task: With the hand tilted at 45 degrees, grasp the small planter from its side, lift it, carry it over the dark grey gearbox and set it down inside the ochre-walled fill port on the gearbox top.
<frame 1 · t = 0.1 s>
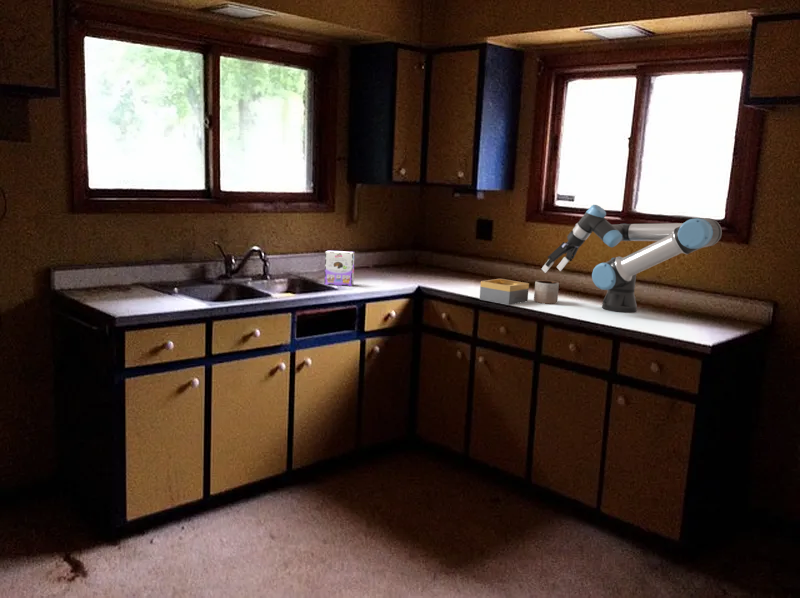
hand: (551, 270, 344), 15 cm above the counter, tool tilted 35°, fingers open, 13 cm apart
candy box: (338, 285, 366), on the counter
gearbox: (503, 300, 346), on the counter
planter: (545, 302, 347), on the counter
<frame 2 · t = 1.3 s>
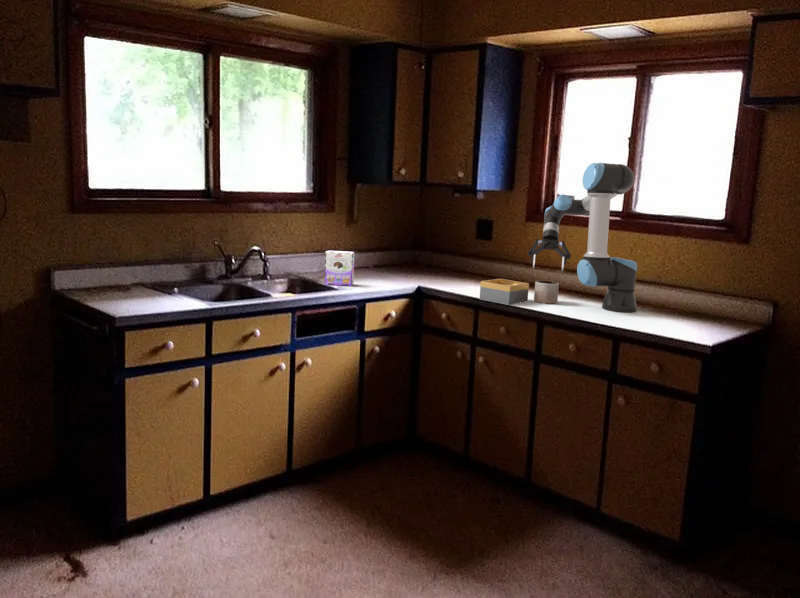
hand: (548, 267, 355), 15 cm above the counter, tool tilted 45°, fingers open, 13 cm apart
nothing on the counter moved.
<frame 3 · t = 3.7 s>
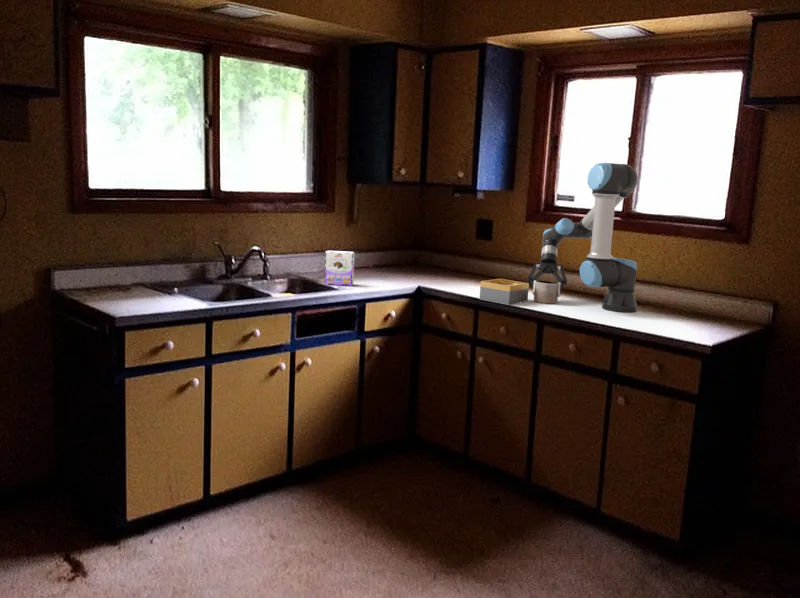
hand: (546, 294, 344), 4 cm above the counter, tool tilted 45°, fingers closed on planter, 11 cm apart
planter: (545, 302, 347), on the counter, touching gripper
everything else where it was.
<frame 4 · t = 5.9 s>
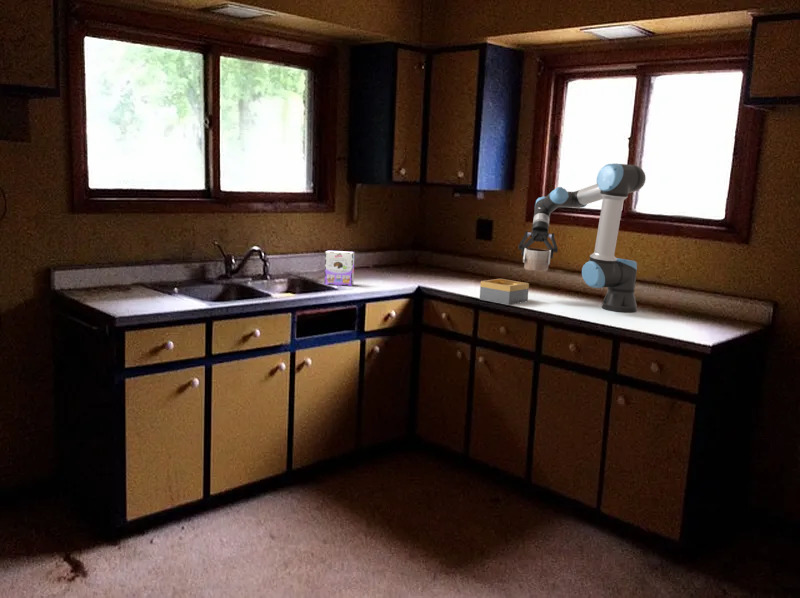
hand: (536, 261, 343), 19 cm above the counter, tool tilted 45°, fingers closed on planter, 11 cm apart
planter: (535, 270, 346), point 14 cm above the counter, touching gripper
everything else where it was.
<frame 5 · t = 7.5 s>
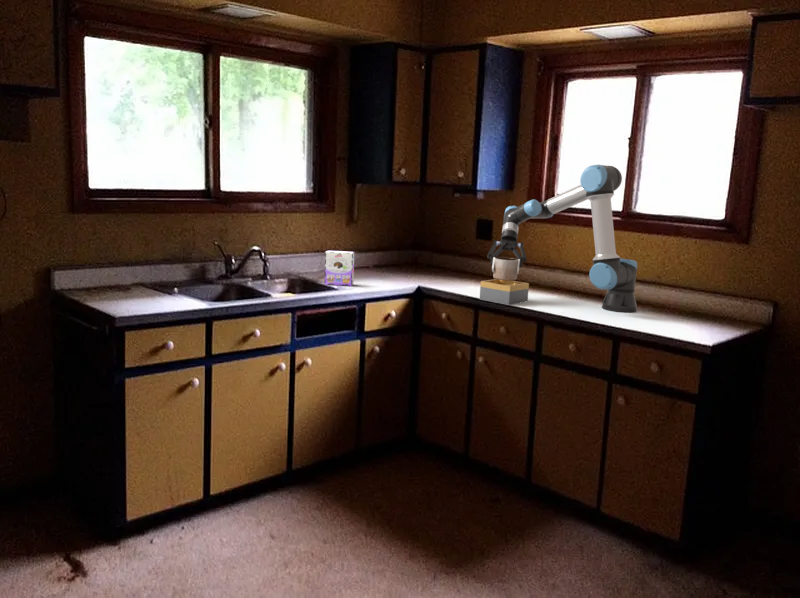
hand: (505, 271, 341), 14 cm above the counter, tool tilted 45°, fingers closed on planter, 11 cm apart
planter: (504, 279, 344), point 10 cm above the counter, touching gripper
everything else where it was.
when the fingers open (12 cm above the counter, at t = 8.5 s): planter drops 1 cm, resting on gearbox.
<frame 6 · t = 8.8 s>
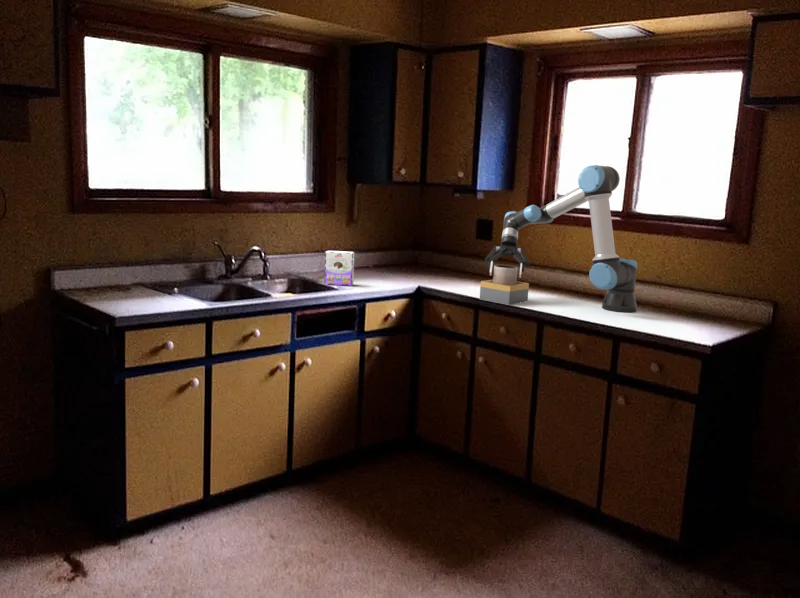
hand: (505, 275, 341), 12 cm above the counter, tool tilted 45°, fingers open, 13 cm apart
planter: (504, 287, 345), point 6 cm above the counter, touching gearbox
everything else where it was.
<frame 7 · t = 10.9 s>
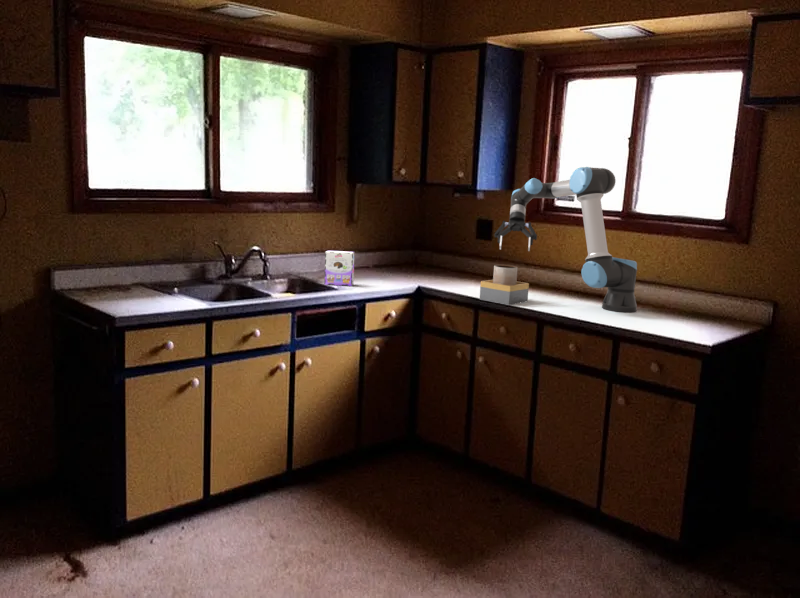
hand: (514, 248, 356), 23 cm above the counter, tool tilted 45°, fingers open, 13 cm apart
nothing on the counter moved.
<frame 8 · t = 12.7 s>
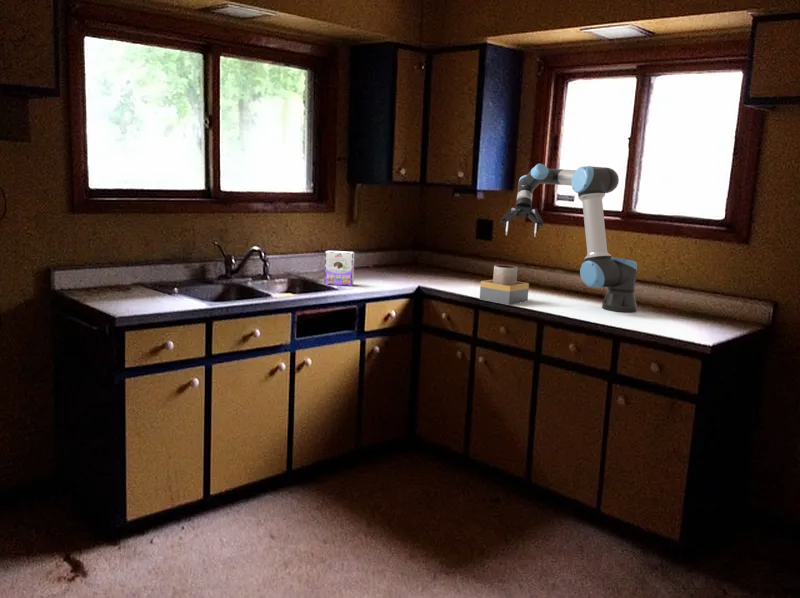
hand: (520, 234, 357), 30 cm above the counter, tool tilted 45°, fingers open, 13 cm apart
nothing on the counter moved.
at the end: planter inside the target area on the gearbox (0.2 cm from its centre), point 6.1 cm above the gearbox's base; planter tilted 0°; the gripper is holding nothing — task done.
